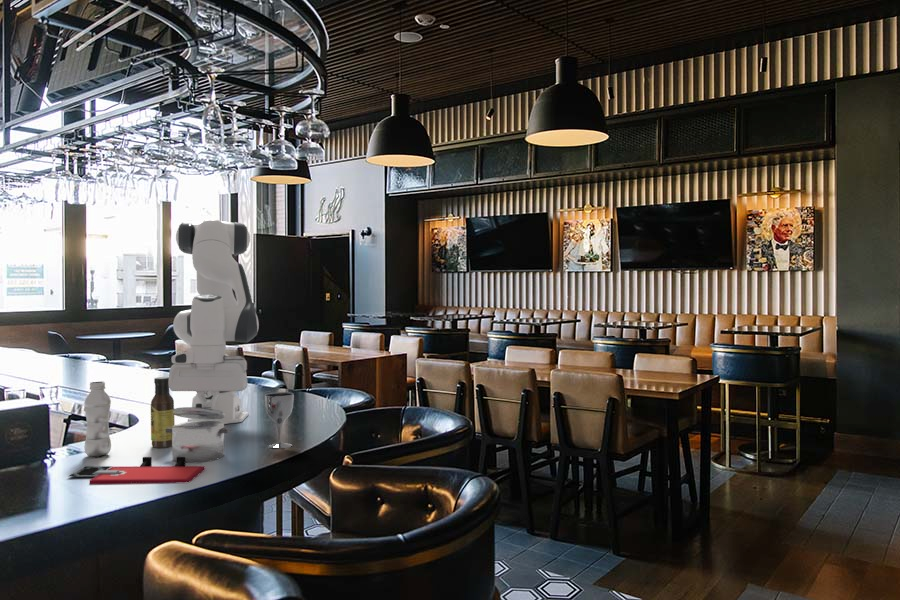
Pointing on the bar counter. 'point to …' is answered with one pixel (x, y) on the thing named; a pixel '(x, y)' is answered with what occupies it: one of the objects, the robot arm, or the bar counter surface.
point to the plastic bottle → (97, 420)
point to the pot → (198, 440)
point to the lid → (198, 413)
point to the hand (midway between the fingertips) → (208, 408)
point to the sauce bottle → (161, 414)
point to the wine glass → (279, 412)
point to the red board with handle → (141, 473)
